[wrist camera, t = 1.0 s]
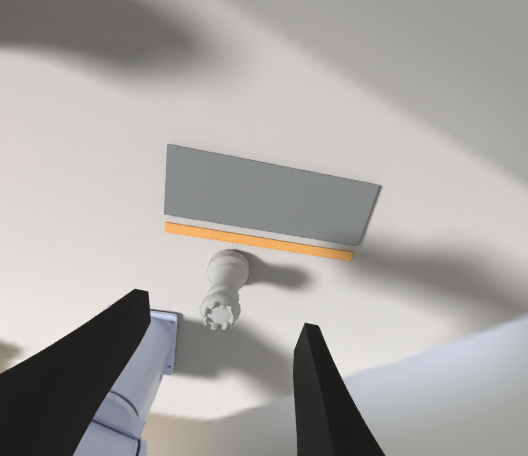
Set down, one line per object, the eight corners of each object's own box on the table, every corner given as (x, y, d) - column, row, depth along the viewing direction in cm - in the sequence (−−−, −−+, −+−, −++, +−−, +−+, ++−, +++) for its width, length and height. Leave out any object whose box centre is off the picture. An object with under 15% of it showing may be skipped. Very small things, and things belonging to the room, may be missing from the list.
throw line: (349, 260, 25) (350, 261, 25) (165, 231, 23) (164, 231, 23) (352, 252, 25) (353, 253, 25) (165, 222, 23) (165, 222, 23)
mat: (355, 244, 25) (358, 246, 24) (166, 212, 23) (164, 214, 22) (376, 184, 23) (379, 185, 22) (169, 144, 21) (167, 144, 20)
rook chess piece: (244, 244, 24) (239, 288, 17) (253, 279, 26) (253, 334, 18) (203, 252, 24) (180, 300, 17) (215, 287, 26) (199, 345, 18)
